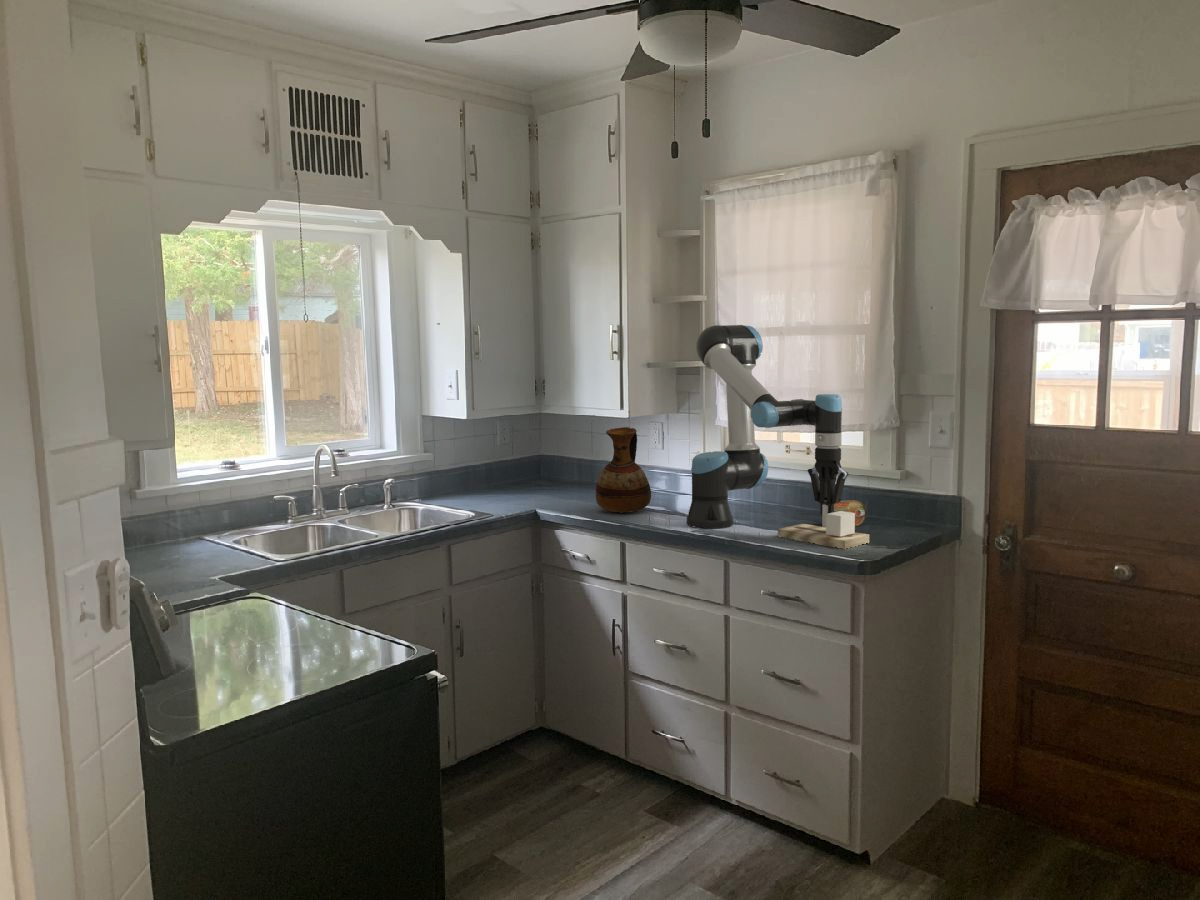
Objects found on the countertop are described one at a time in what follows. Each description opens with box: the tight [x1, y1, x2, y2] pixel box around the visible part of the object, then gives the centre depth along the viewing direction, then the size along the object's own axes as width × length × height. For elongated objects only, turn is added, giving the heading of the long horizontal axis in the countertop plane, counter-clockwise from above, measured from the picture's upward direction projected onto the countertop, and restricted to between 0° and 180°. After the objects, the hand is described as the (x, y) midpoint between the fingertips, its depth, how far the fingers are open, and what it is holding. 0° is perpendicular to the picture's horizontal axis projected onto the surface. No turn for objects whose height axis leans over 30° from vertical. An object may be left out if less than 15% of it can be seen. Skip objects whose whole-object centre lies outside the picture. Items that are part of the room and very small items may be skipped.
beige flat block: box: [777, 523, 870, 550], centre depth 275 cm, size 24×12×3 cm, turn 40°
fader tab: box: [826, 511, 856, 537], centre depth 270 cm, size 5×7×6 cm
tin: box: [834, 499, 867, 527], centre depth 295 cm, size 15×3×8 cm, turn 106°
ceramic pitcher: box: [595, 426, 652, 514], centre depth 328 cm, size 20×20×30 cm
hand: (827, 526), depth 274 cm, fingers closed
